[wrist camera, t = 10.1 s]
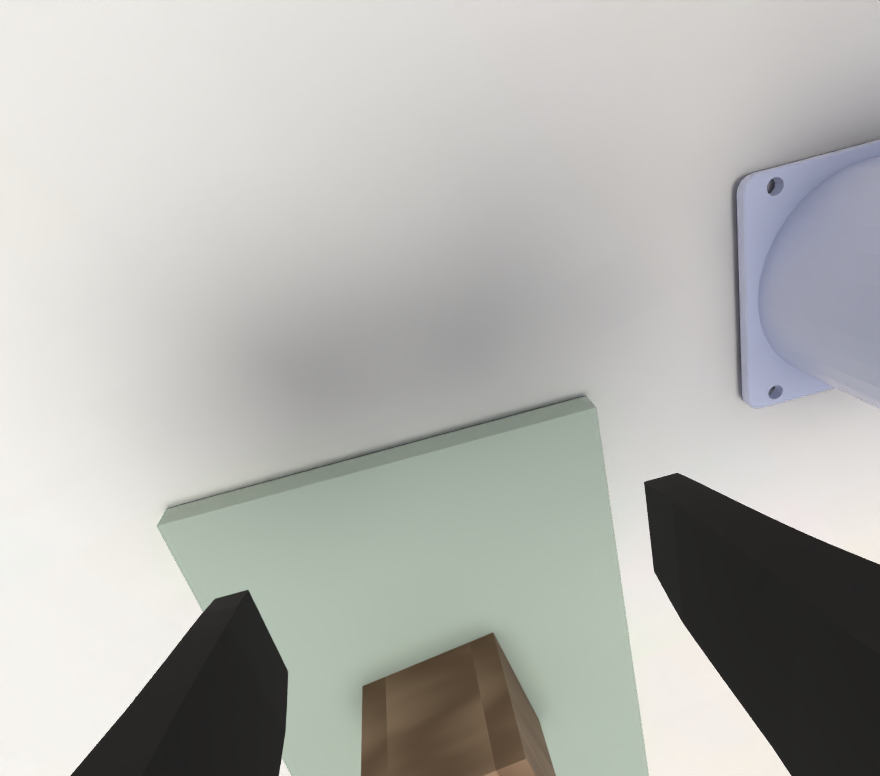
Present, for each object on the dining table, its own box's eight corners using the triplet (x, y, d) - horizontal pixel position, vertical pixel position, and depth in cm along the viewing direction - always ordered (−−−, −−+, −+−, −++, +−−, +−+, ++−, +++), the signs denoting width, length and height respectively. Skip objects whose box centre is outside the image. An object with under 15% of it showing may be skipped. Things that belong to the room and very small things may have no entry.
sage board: (585, 396, 19) (596, 407, 19) (640, 759, 27) (649, 780, 26) (167, 508, 19) (156, 525, 18) (341, 843, 27) (341, 867, 26)
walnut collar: (493, 632, 22) (525, 758, 17) (539, 720, 24) (579, 853, 19) (362, 686, 22) (359, 824, 17) (419, 768, 24) (430, 911, 20)
